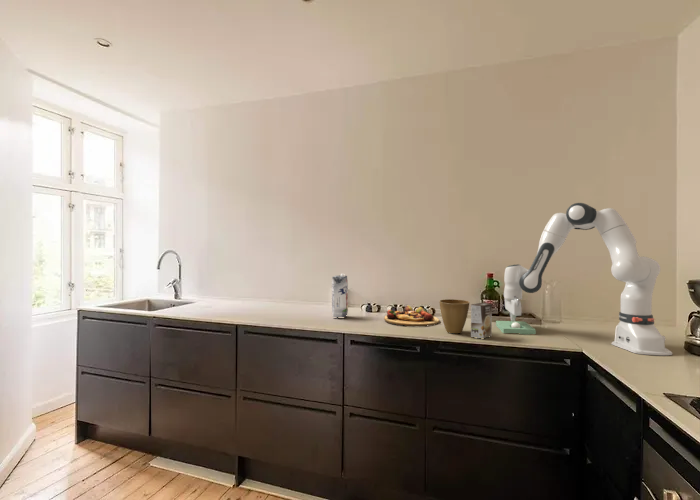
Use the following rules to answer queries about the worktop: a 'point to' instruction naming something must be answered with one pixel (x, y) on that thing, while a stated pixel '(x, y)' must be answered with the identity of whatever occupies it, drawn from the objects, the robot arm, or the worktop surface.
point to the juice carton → (339, 296)
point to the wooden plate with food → (411, 317)
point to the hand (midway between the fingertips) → (513, 321)
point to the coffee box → (481, 320)
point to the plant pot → (454, 314)
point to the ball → (515, 325)
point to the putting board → (506, 328)
